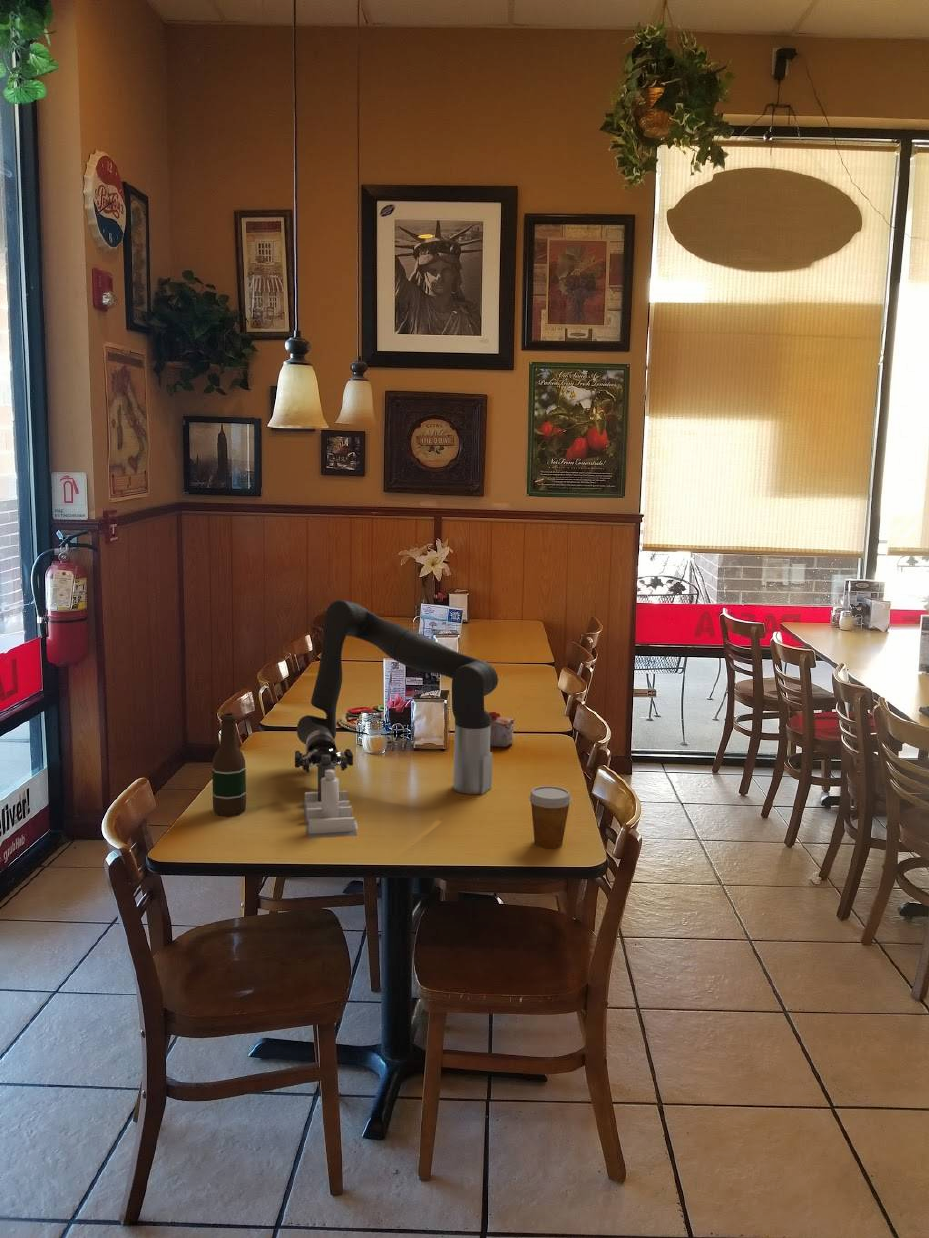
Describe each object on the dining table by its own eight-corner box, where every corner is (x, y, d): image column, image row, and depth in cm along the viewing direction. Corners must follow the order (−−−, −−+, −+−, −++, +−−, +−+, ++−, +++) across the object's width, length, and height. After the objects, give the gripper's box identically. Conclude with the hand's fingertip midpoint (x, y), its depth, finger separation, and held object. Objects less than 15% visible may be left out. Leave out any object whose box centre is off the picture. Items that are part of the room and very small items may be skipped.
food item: (517, 743, 307) (518, 711, 305) (509, 750, 299) (510, 718, 298) (474, 738, 311) (475, 706, 309) (465, 745, 304) (466, 712, 302)
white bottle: (342, 824, 234) (342, 769, 232) (333, 830, 230) (332, 774, 228) (327, 821, 235) (327, 767, 233) (318, 827, 232) (317, 772, 230)
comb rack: (302, 806, 249) (302, 788, 248) (350, 804, 251) (350, 786, 250) (307, 844, 226) (307, 824, 225) (359, 841, 228) (360, 822, 227)
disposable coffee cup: (566, 835, 235) (568, 785, 233) (572, 851, 225) (574, 799, 223) (525, 834, 234) (527, 784, 232) (529, 851, 225) (531, 799, 223)
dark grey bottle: (338, 807, 244) (337, 755, 242) (329, 812, 241) (328, 759, 239) (323, 804, 246) (323, 752, 244) (314, 810, 242) (314, 757, 240)
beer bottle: (232, 803, 250) (231, 708, 246) (252, 811, 245) (251, 714, 241) (206, 811, 244) (204, 714, 240) (226, 819, 239) (225, 720, 235)
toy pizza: (325, 717, 331) (325, 704, 330) (403, 709, 344) (404, 696, 343) (356, 740, 307) (357, 726, 306) (439, 730, 319) (440, 717, 319)
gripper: (292, 734, 259) (295, 753, 244) (348, 732, 262) (355, 751, 247) (292, 762, 261) (295, 783, 245) (348, 760, 264) (355, 781, 248)
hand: (325, 767), depth 246 cm, fingers open, 8 cm apart
